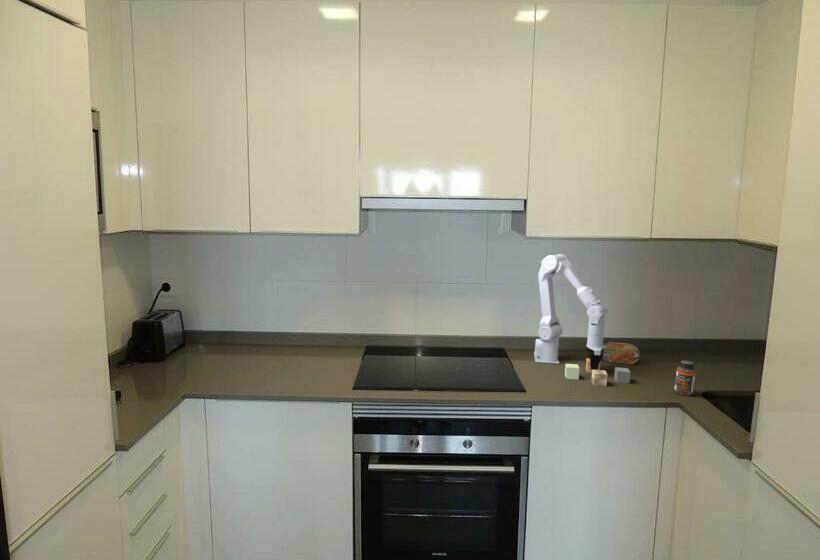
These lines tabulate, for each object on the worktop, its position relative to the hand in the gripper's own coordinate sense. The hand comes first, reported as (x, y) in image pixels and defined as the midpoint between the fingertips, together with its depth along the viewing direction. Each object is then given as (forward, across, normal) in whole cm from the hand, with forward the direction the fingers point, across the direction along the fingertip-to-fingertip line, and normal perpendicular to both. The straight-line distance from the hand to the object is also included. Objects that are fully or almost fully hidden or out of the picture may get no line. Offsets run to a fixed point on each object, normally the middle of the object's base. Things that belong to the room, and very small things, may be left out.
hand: (592, 367), depth 207 cm
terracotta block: (+1, 0, 0) cm, 1 cm away
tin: (+2, +15, -13) cm, 20 cm away
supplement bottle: (+2, -17, -28) cm, 33 cm away
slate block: (+2, -9, -9) cm, 13 cm away
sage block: (+2, -9, +9) cm, 13 cm away
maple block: (+2, -14, 0) cm, 14 cm away
